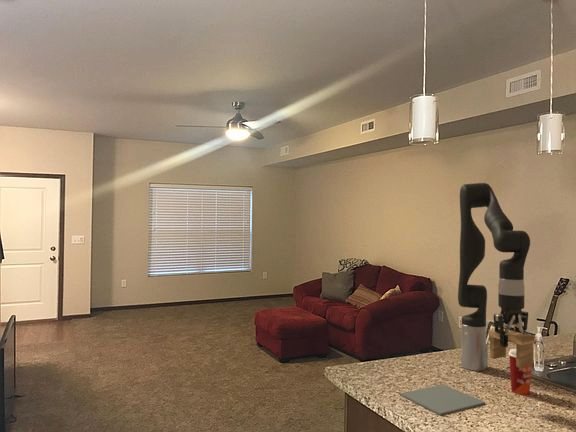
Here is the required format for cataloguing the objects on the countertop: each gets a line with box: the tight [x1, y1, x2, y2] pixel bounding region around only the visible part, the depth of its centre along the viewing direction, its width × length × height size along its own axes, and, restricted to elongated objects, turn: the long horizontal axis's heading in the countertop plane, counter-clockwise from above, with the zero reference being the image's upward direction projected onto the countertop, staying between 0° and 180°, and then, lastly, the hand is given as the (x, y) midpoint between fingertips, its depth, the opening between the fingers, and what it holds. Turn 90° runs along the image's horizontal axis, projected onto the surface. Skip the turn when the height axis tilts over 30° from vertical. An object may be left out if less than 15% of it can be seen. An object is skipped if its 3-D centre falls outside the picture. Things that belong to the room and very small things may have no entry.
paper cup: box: [508, 348, 533, 396], centre depth 160 cm, size 8×8×14 cm
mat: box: [399, 384, 486, 416], centre depth 152 cm, size 20×18×1 cm
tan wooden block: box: [488, 327, 536, 368], centre depth 147 cm, size 12×6×9 cm, turn 27°
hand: (511, 345), depth 147 cm, fingers closed on tan wooden block, 6 cm apart
